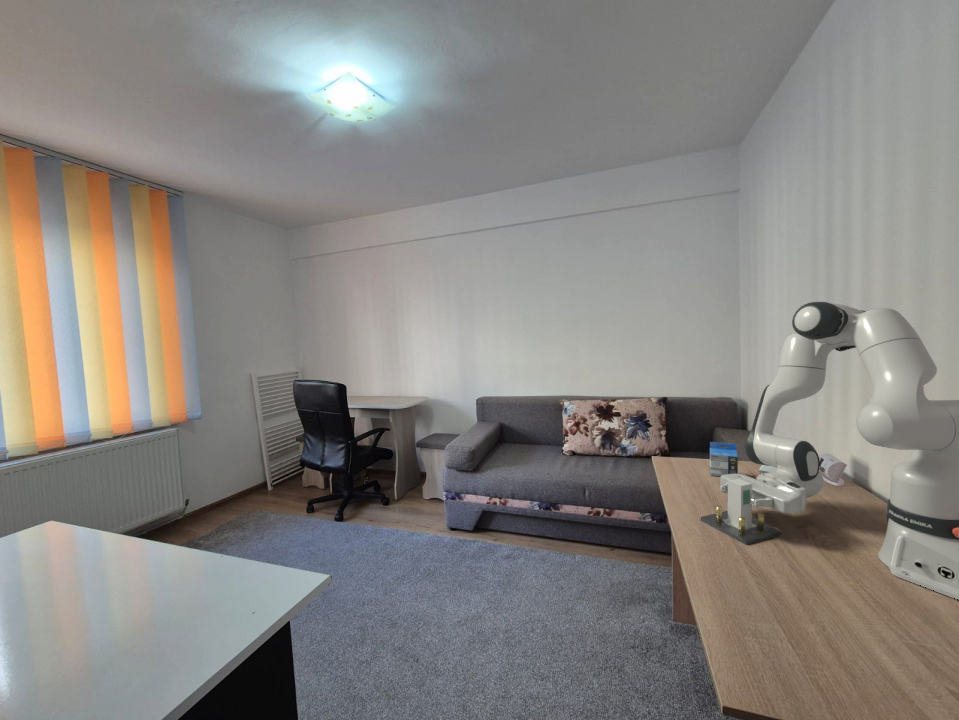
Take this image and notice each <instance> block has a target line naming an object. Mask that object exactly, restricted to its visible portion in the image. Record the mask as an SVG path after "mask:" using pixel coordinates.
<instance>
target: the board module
mask: <svg viewBox="0 0 959 720" xmlns="http://www.w3.org/2000/svg"><path fill="white" fill-rule="evenodd" d="M751 499H752V484H751V483H749V482H746V481H743V480H741V479H734V480H729V481H728V493H727V511H728V522H730V523H732V524H734V525H736V526H738V527H739V517H744V518H745V527H747V526H751V525H752V518H753V517H752V514H753V512H752V511H753V509H752V508H753V505H751Z"/></svg>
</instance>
